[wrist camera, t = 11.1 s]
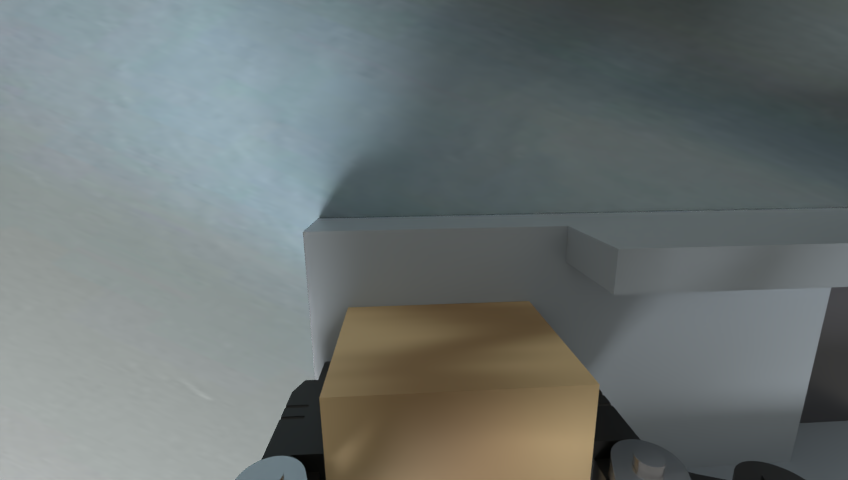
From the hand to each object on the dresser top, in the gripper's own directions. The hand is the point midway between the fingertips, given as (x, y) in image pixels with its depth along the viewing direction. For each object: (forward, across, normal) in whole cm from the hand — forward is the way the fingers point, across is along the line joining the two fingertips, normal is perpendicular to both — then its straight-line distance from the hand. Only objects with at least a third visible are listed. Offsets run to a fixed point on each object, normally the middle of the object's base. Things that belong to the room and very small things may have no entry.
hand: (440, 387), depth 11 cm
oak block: (0, 0, 0) cm, 0 cm away
